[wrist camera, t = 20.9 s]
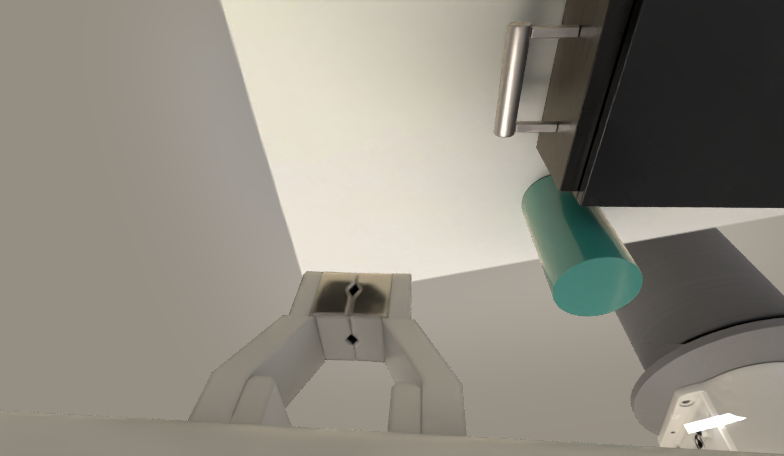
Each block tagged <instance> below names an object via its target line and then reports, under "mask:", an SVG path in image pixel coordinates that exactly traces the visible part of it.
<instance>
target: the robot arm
mask: <svg viewBox="0 0 784 456" xmlns="http://www.w3.org/2000/svg"><path fill="white" fill-rule="evenodd" d="M411 283H412V278H411V274H384V273H342V272H313V271H307V272H306V273H305V274H304V275H303V278H302V280H301V283H300V286H299V288H298V291H297V294H296V297H295V299H294V302H293V305H292V308H291V310H290V313H289V315H283V316H282V317H280V318H279V319H278V320H277V321H275V322H274V323H273V324H272V325H270V326H269V327H268V328H267V329H265V330H264V331H263V332H262V333H260V334H259V335H258V336H257V337H255V338H254V339H253V340H252V341H251V342H250V343H248V344H247V345H245V346H244V347H243V348H242V349H240V350H239V351H238V352H237V353H235V354H234V355H233V356H232V357H230V358H229V359H228V360H227V361H226V362H224V363H223V364H222V365H220V366H219V367H218V368H217V369H215V370H214V371H213V372H212V373H211V375H210V377H209V379H208V381H207V384H206V385H205V387H204V389H203V391H202V393H201V395H200V397H199V399H198V401H197V403H196V405H195V407H194V409H193V411H192V413H191V415H190V417H189V419H188V421H181V420H164V419H145V418H128V417H127V418H126V417H110V416H92V415H73V414H56V413H39V412H21V411H1V410H0V456H784V362H772V363H762V364H756V365H750V366H746V367H742V368H738V369H734V370H731V371H728V372H725V373H723V374H720V375H718V376H716V377H714V378H711V379H709V380H707V381H704V382H701V383H696V384H692V385H688V386H684V387H681V388H679V389H677V390H676V391H675V392H674V394H673V397H672V399H671V402H670V405H669V408H668V410H667V413H666V416H665V419H664V421H663V424H662V427H661V430H660V433H659V435H658V438H657V442H658V443H659V445H660V447H649V446H633V445H615V444H597V443H579V442H559V441H543V440H525V439H507V438H488V437H471V436H467V435H466V422H465V410H464V397H463V385H462V383H461V382H460V380H459V379H458V378H457V376H456V375H455V373H454V372H453V371H452V369H451V368H450V367H449V365H448V364H447V363H446V361H445V360H444V359H443V357H442V356H441V354H440V353H439V352H438V350H437V349H436V348H435V346H434V345H433V343H432V342H431V341H430V339H429V338H428V337H427V335H426V334H425V333H424V331H423V330H422V328H421V327H420V326H419V324H418V323H417V322H416V320H415V319H412V316H411V315H412V312H411V311H412V308H411V307H412V306H411V305H412V300H411V299H412V297H411V294H412V293H411V292H412V291H411V290H412V288H411V286H412V284H411ZM325 360H357V361H373V362H385V364H386V366H387V367H388V370H389V372H390V374H391V376H392V378H393V379H394V382H395V383H396V384H395V385H394V386H393V387H392V389H391V399H390V410H389V421H388V431H387V432H380V431H362V430H344V429H326V428H308V427H292V426H291V423H290V421H289V418H288V415H287V413H286V410H285V408H286V407H287V406H288V404H289V403H290V402H291V401H292V400H293V399H294V397H295V396H296V395H297V394H298V393H299V392H300V390H301V389H302V388H303V387H304V386H305V385H306V383H307V382H308V381H309V380H310V379H311V377H312V376H313V375H314V374H315V373H316V372H317V370H318V369H319V368H320V367H321V366H322V364H323V363H324V362H325Z"/></svg>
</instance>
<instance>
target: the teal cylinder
mask: <svg viewBox="0 0 784 456" xmlns="http://www.w3.org/2000/svg"><path fill="white" fill-rule="evenodd" d="M522 212H523V215H524V218H525V220H526V223H527V226H528V229H529V232H530V234H531V237H532V240H533V243H534V246H535V248H536V251H537V254H538V257H539V260H540V262H541V265H542V268H543V271H544V274H545V276H546V279H547V282H548V285H549V288H550V290H551V293H552V296H553V299H554V301H555V303H556V304H557V306H558V307H559V308H561V309H562V310H564V311H566V312H567V313H570V314H574V315H579V316H597V315H603V314H607V313H610V312H613V311H615V310H618V309H620V308H622V307H623V306H625V305H626V304H628V303H629V302H630V301H632V300H633V299H634V298H635V297H636V295H637V294H638V293H639V291H640V289H641V287H642V283H643V277H642V273H641V271H640V269H639V268H638V266H637V264H636V263H635V261H634V260H633V258H632V257H631V255H630V254H629V252H628V250H627V249H626V247H625V246H624V244H623V243H622V241H621V240H620V238H619V237H618V235H617V233H616V232H615V230H614V229H613V227H612V226H611V224H610V223H609V221H608V219H607V218H606V216H605V215H604V213H603V212H602V210H601V209H600V207H594V206H580V205H579V204H578V202H577V200H576V198H575V197H574V195H573V193H572V192H560V191H559V189H558V188H557V186H556V184H555V182H554V180H553V178H552V176H551V175H550V176H547V177H544V178H542V179H540V180H538V181H537V182H535V183H534V184H533V185H532V186H531V187H530V188H529V189H528V190H527V191H526V193H525V195H524V197H523V200H522Z"/></svg>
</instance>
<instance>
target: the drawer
mask: <svg viewBox="0 0 784 456" xmlns="http://www.w3.org/2000/svg"><path fill="white" fill-rule="evenodd" d="M636 1H637V0H567V1H566V6H565V11H564V16H563V21H562V25H559V26H532V24H531V23H528V22H511V23H509V24H508V27H507V35H506V42H505V50H504V58H503V65H502V73H501V81H500V88H499V96H498V103H497V111H496V119H495V126H494V134H495V135H496V136H499V137H511V136H513V135H514V131H515V132H539V137H538V142H537V147H536V148H537V150H538V152H539V153H540V155H541V157H542V159H543V161H544V163H545V165H546V167H547V169H548V171H549V172H550V174H551V176H552V178H553V180H554V182H555V184H556V186H557V188H558V189H559V191H560V192H577V191H578V188H579V185H580V181H581V178H582V174H583V171H584V168H585V164H586V162H587V164H588V161H589V157H590V154H591V151H592V147H593V144H594V141H595V137H596V134H597V131H598V127H599V124H600V121H601V117H602V114H603V111H604V107H605V104H606V101H607V97H608V94H609V91H610V87H611V84H612V81H613V77H614V74H615V71H616V67H617V64H618V61H619V57H620V54H621V51H622V47H623V44H624V41H625V37H626V34H627V31H628V27H629V24H630V21H631V17H632V14H633V11H634V7H635V4H636ZM530 38H531V39H535V38H559V40H558V45H557V50H556V55H555V59H554V64H553V69H552V74H551V79H550V84H549V89H548V93H547V98H546V103H545V108H544V113H543V118H542V121H516V119H517V113H518V107H519V101H520V95H521V89H522V83H523V77H524V71H525V65H526V59H527V53H528V47H529V40H530Z"/></svg>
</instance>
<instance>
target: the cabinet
mask: <svg viewBox="0 0 784 456" xmlns="http://www.w3.org/2000/svg"><path fill="white" fill-rule="evenodd" d="M572 193H573V195H574V197H575V198H576V200H577V202H578V204H579V205H580V206H594V207H726V208H784V0H637V1H636V4H635V7H634V11H633V14H632V17H631V21H630V24H629V27H628V31H627V34H626V37H625V41H624V44H623V47H622V51H621V54H620V57H619V61H618V64H617V67H616V71H615V74H614V77H613V81H612V84H611V87H610V91H609V94H608V97H607V101H606V104H605V107H604V111H603V114H602V117H601V121H600V124H599V127H598V131H597V134H596V137H595V141H594V144H593V147H592V151H591V154H590V157H589V161H588V164H587V162H586V164H585V168H584V171H583V174H582V178H581V181H580V185H579V188H578V191H577V192H572Z"/></svg>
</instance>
